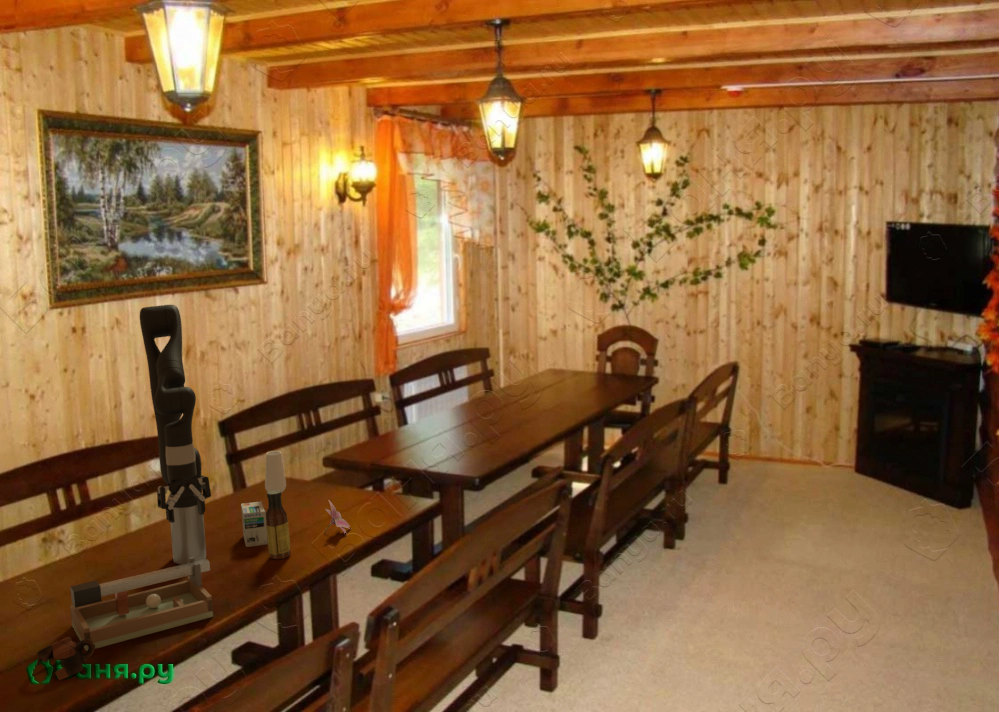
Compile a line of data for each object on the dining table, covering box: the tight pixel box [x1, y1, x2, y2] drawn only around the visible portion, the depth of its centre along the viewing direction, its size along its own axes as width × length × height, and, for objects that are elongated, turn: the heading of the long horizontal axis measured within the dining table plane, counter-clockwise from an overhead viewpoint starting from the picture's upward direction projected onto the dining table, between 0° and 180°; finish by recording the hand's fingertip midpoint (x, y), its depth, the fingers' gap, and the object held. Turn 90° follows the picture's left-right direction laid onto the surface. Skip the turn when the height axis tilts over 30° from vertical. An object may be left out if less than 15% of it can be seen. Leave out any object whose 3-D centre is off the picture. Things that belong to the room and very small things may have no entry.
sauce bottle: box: [266, 490, 291, 560], centre depth 270 cm, size 7×6×20 cm
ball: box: [146, 594, 161, 609], centre depth 234 cm, size 4×4×4 cm
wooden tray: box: [69, 556, 214, 652], centre depth 230 cm, size 16×30×12 cm, turn 125°
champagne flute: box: [264, 450, 287, 494], centre depth 296 cm, size 7×7×24 cm
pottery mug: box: [36, 636, 95, 681], centre depth 208 cm, size 12×10×8 cm
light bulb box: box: [240, 501, 268, 548], centre depth 284 cm, size 11×7×11 cm, turn 20°
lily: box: [323, 500, 351, 534], centre depth 289 cm, size 12×12×10 cm
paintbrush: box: [70, 558, 211, 616], centre depth 233 cm, size 4×33×9 cm, turn 125°
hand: (186, 518), depth 252 cm, fingers open, 8 cm apart
